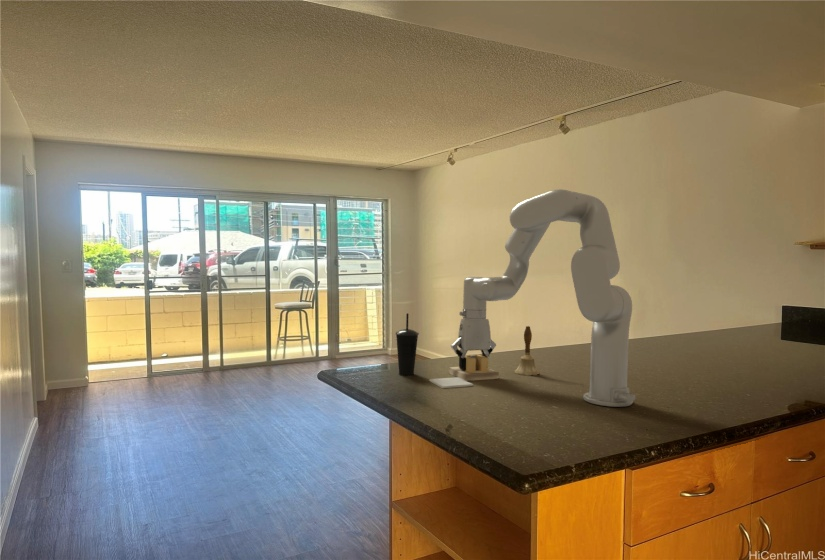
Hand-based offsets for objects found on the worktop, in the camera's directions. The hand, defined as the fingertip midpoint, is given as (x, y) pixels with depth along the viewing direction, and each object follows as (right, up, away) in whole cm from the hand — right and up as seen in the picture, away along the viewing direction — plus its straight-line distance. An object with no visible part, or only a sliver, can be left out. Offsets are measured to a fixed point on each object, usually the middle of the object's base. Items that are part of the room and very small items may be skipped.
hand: (473, 368), depth 177 cm
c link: (0, 0, 0) cm, 0 cm away
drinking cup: (-22, -2, +1) cm, 22 cm away
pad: (-8, -3, -12) cm, 15 cm away
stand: (0, -2, 0) cm, 2 cm away
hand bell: (+19, -3, +7) cm, 20 cm away
